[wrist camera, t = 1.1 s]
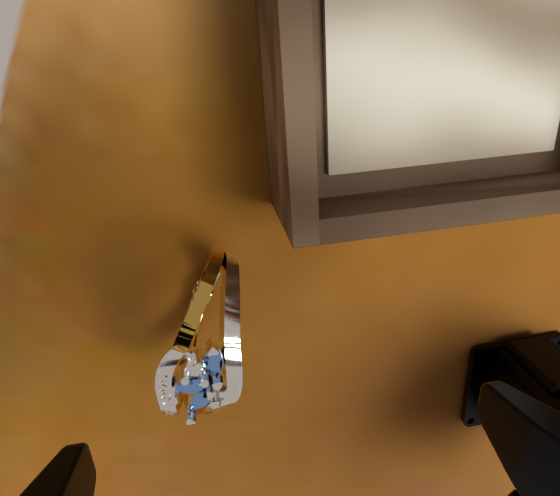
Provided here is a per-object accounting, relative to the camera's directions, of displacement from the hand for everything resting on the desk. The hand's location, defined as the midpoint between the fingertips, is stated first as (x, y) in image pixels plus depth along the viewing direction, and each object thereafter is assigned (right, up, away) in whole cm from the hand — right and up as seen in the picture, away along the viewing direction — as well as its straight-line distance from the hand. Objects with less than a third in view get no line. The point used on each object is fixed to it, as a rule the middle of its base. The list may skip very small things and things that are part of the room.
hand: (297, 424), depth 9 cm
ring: (-4, +2, +12) cm, 13 cm away
